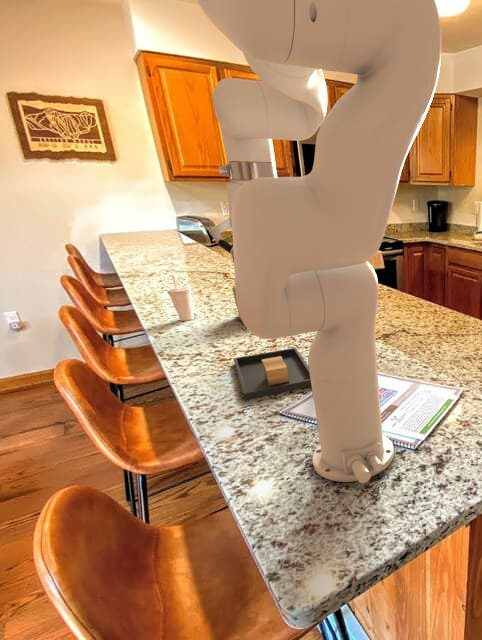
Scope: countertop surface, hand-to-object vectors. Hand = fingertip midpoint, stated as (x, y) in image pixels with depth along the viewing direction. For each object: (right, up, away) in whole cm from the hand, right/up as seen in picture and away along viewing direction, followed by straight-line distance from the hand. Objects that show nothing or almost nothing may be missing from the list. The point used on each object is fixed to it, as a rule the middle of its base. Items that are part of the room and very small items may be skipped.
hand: (270, 273), depth 81 cm
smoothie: (-50, -1, +55) cm, 75 cm away
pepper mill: (-29, 0, +58) cm, 65 cm away
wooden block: (-3, -21, +11) cm, 24 cm away
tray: (-6, -19, +15) cm, 25 cm away
